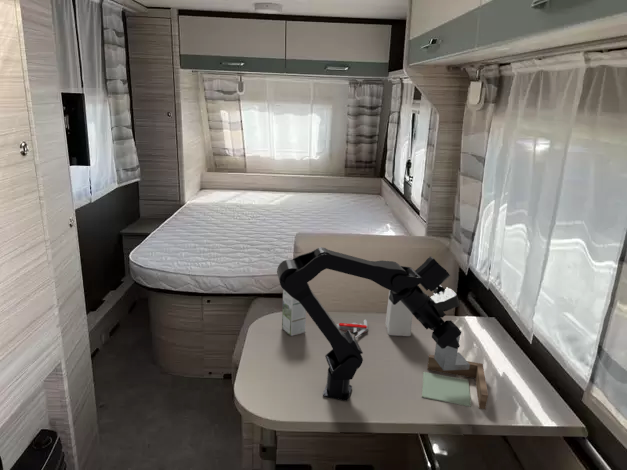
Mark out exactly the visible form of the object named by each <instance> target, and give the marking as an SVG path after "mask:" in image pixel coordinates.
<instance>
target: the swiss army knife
mask: <svg viewBox="0 0 627 470" xmlns="http://www.w3.org/2000/svg"><path fill="white" fill-rule="evenodd" d="M336 325H337V327H338V328H339V329H340V330H341V331H342V332H347V331H348V330H349V331H350V332H352V333H357V334H356V335H355V336H354V339H356V338H357V337H359V336H360V335H362V334H363V333H367V331H368V321H367V319H364V320H363V323H359V324H358V323H357V322H352V323H343V322H339V323H337V324H336Z"/></svg>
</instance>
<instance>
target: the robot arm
mask: <svg viewBox="0 0 627 470" xmlns="http://www.w3.org/2000/svg"><path fill="white" fill-rule="evenodd" d="M324 270H330V271H334V272H338V273H343V274H347V275H350V276H354V277H358V278H363V279H366V280H370V281H372V282H373V283H375V284H377V285H379V286H380V287H382V288H384V289H386V290H388V291H389V290H391V291H390V296H389V295H388V297H389V299H390V301H391V302H392V303H393V305H396V304H397V303H398V302H399V301H401V302H402V303H403V304H404V305H405V306H406V307H407V308H408V310H409V311H410V312H411V313H412V314H413V317H414V318H415V319H416V320H417V321H418V322H419V323H420V324H421V325H422V326H423V327H424V329H425V330H428V329H429V330H431V331H432V333H431V338H432V339H433V341H434V342H435V344H436V343H437V344H438V345H439V346H440V347H441V348H442V349H443V348H446V347H447V346H449V347H452V348H455V349H457V348H458V349H459V348H460V342H459V343H458V341H457V339H456V338H457V337H458V336H459V335H460V336H461V335H462V330H461V329H460V328H459V327H458V326H457V325H456V324H455V323H454V322H453V321H452V320H444V319H443V318H444V317H446V312H448V311H450V310H452V309H455V308H458V307H460V306H461V305H460V301H459V298H458V294H457V293H456V292H455V291H454V290H453V289H452V288H449V287H448V286H447V287H443V286H442V285H441V284H443V283H444V282H445V281H447V280H448V279H449V278H450V277H451V274H450V273H449V272H448V271H447V270H446V269H445V268H444V267H443V266H441V264H440V263H439V262H437V260H436V259H435V258H434V257H433V256H429V257H428V258H427V259H426V260H425V261H424V262H423V263H422V264H421V265H420V266H419V267H417V269H416V270H414V269H413V268H412V267H411V266H404V265H400V264H399V263H398V262H396V261H390V260H377V261H373V260H368V259H363V258H360V257H356V256H353V255H349V254H345V253H341V252H338V251H334V250H330V249H328V248H326V247H317V248H316V249H313V250H311V251H310V252H306V253H304V254H299V255H297V256H296V257H294V258H292V259H285V260H283V261H281V262H280V263H279V264H278V267H277V269H276V274H277V278H278V281H279V285H280V287H281V289H282V290H283V289H284V290H285V291H286V292H287V293H288V294H289V295H290V296H291V297H293V298H294V299H296V300H297V301H299V302H300V303H301V305H302V306H303V307H304V309H305V310H306V314H307V315H309V317H310V319H312V321H313V322H314V324H315V325H316V326H317V327H318V329H319V330H320V333H322V334H323V336H324V338H325V339H326V340H327V341H328V343H329V344H330V346H331V348H332V349H331V350H330V351H328V352H327V353H326V354H325V359H326V362H327V365H328V368H327V378H326V385H325V387H324V390H323V392H322V396H323V397H325V398H329V399H335V400H339V401H345V402H348V401H349V398H350V396H351V393H352V389H353V386H352V385H351V384H350V382H351V380H353V378H354V376H355V374H356V372H357V370H358V369H359V368H360V367H361V366H362V364H363V361H364V359H363V356H362V354H363V353H364V352H363V351H362V348H361V347H360V344H359V343H358V341H357V339H356V338H355V337H353V335H352V333H351V331H349V330H348V331H342V330H340V329H339V328H338V327H337V324H336V322H335V321H334V320H333V318H332V317H331V315H330V314H329V312H328V311H327V310H326V309H325V307H324V305H322V303H321V301H320V300H319V299H318V297H317V296H316V294H315V293H314V292H313V291H312V289H311V287H310V285H309V282H310V281H312V280H313V279H315V278H316V277H317V276H318V275H319V274H320V273H321V272H322V271H324ZM419 285H420V286H421V287H422V288H424V290H425V291H430V292H433V293H432V295H431V296H430V295H428V293H425V291H424V290H423V289H422V288H421V287H420V286H419ZM440 324H441V325H440Z"/></svg>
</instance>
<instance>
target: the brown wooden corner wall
mask: <svg viewBox="0 0 627 470" xmlns="http://www.w3.org/2000/svg"><path fill="white" fill-rule="evenodd" d="M434 355H435V354H428V360H427V367H426V370H427V371H432V372H439V373H442V374H443V373H444V374H448V375H455V376H459V377H460V376H461V377H467V378H472V379H475V388H476V394H477V396H476V397H477V402H478V409H481V410H486V408H487V402H488V397H489V393H488V387H487V386H488V385H487V381H486V375H485V369H484V364H483V363H480V362H475V361H470V360H466V361H467V362H468V363H469V364H470V366H469V370H445V371H443V369H442V368H441V367H440V365H439V364H438V363H437V361H436V360H435V359H434Z"/></svg>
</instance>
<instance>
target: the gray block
mask: <svg viewBox="0 0 627 470" xmlns="http://www.w3.org/2000/svg"><path fill="white" fill-rule="evenodd" d="M440 325H441V324H440ZM460 338H461V335H459V336H458V337H457V338H456V339H457V341H458V343H459V344H460V341H461V340H460ZM434 348H435V349H434V354H433V355H434V359H435V360H436V361H437V363H438V364H439V365H440V367H441V368H442V369H443V371H445V370H469V366H470V364H469V363H468V362H467V361H468V360H467V359H466V358H465V357H464V356H463V355H462V353H460V352H458V351H459V348H457V349H455V348H452V347H449V346H447V347H446V348H443V349H442V348H441V347H440V346H439V345H438V344H437V343H436V342H435V347H434Z"/></svg>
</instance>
